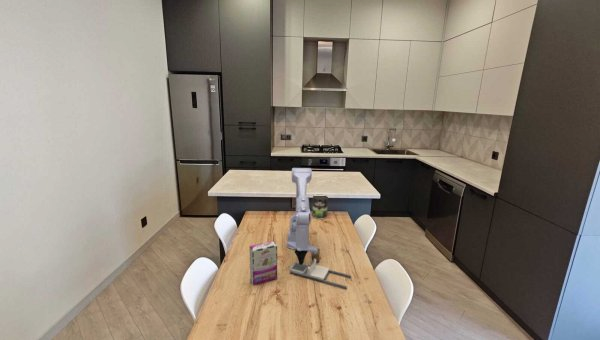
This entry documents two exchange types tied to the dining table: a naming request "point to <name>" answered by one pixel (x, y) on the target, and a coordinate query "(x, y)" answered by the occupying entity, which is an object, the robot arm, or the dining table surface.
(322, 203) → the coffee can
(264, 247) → the candy bar box
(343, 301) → the dining table surface
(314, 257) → the peg
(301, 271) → the board
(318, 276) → the cover
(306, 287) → the dining table surface
